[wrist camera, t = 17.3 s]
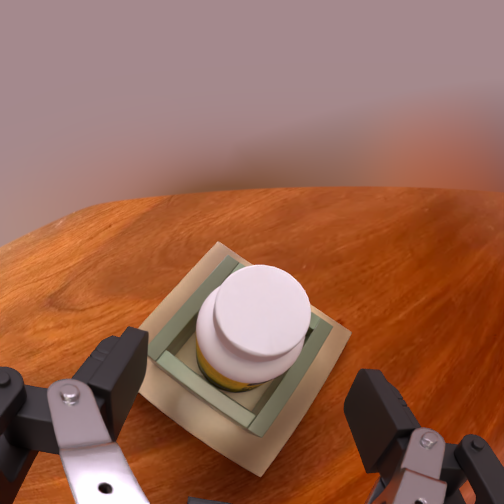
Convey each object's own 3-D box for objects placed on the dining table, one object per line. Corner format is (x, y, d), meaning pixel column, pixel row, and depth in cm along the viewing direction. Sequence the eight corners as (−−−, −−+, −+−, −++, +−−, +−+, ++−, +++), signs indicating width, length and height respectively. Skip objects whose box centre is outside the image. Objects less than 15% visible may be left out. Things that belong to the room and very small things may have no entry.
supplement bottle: (236, 409, 18) (266, 403, 10) (180, 353, 20) (165, 302, 12) (289, 355, 21) (349, 307, 13) (235, 304, 22) (259, 227, 14)
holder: (111, 366, 19) (90, 353, 15) (217, 248, 26) (221, 214, 22) (257, 474, 17) (272, 488, 13) (346, 336, 24) (374, 317, 20)
